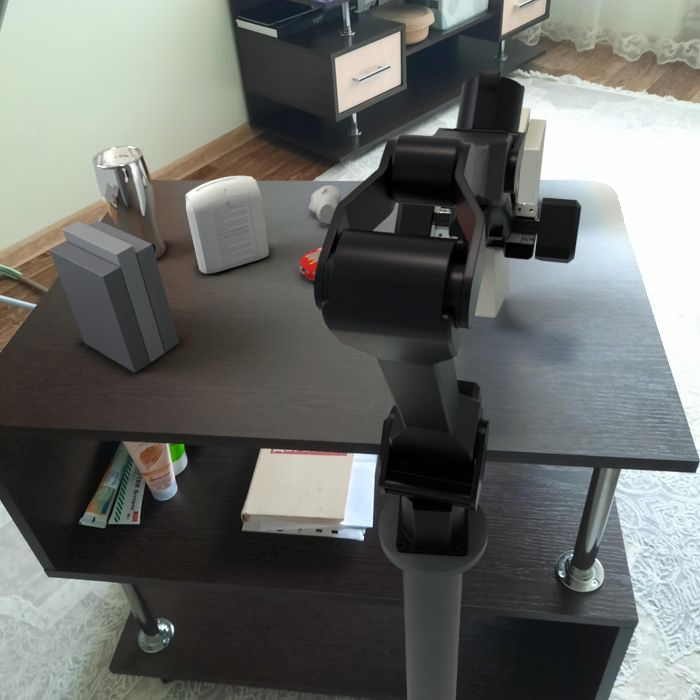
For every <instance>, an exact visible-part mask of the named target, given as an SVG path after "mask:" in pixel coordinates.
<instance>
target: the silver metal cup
mask: <svg viewBox="0 0 700 700" xmlns="http://www.w3.org/2000/svg"><path fill="white" fill-rule="evenodd" d="M92 165H93V169H94V173H95V174H94V175H95V179H96V184H97V185H98V190H99V193H100V196H101V198H102V201H103V203H104V206H105V208H106V209H107V212H108V214H109V216H110V217H111V219H112V221H113V224H114V225H115V228H116V229H119V230H121V231H123V232H125V233H128V234H130V235H132V236H135V237H137V238H139V239H141V240H144V241H146V242H148V243H151V244H152V246H153V250H154V253H155V257H156V260H158V259H160V258H161V257H162V256H163V255H164V254H165V253H166V249H167V247H166V243H165V242H164V239H163V238H162V236H161V234H160V231H159V227H158V224H157V215H156V202H155V191H154V185H153V182H152V177H151V174H150V171H149V167H148V164H147V162H146V159H145V157H144V154H143V150H142V149H141V148H140V147H138V146H135V145H134V146H133V145H119V146H113V147H109V148H105V149H103V150H102V151H99V152H98V153H96V154H95V155H94V156H93V157H92Z"/></svg>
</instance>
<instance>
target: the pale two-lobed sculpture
mask: <svg viewBox="0 0 700 700" xmlns="http://www.w3.org/2000/svg"><path fill="white" fill-rule="evenodd" d="M341 201H342V192H341V190H340V189H339V188H338V187H337V186H335V185H327V184H326V185H323V186H322V187H320V188H318V189H317V190H315V191H313V193H312V194H311V196H310V204H309V206H308V210H309V211H311V212H312V213H313V214H314V215H316V218H317V219H318V221H319V222H320V223H322V224H324V225H329V226H330V223H331V220H332V217H333V214H334V211H335V208H336V207H337V205H338V204H339V202H341Z"/></svg>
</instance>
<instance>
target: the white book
mask: <svg viewBox="0 0 700 700" xmlns="http://www.w3.org/2000/svg"><path fill="white" fill-rule="evenodd" d="M469 248H470V247H469ZM509 290H510V258H505V257H504V254H503V250H496V249H486V248H485V267H484V271H483V276H482V281H481V286H480V291H479V296H478V301H477V306H476V311H475V316H474V317H480V318H481V317H482V318H483V317H484V318H493V319H496V318H497V315H498V313H499V311H500V310H501V307H502V305H503V304H504V301H505V299H506V297H507V295H508V292H509Z"/></svg>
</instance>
